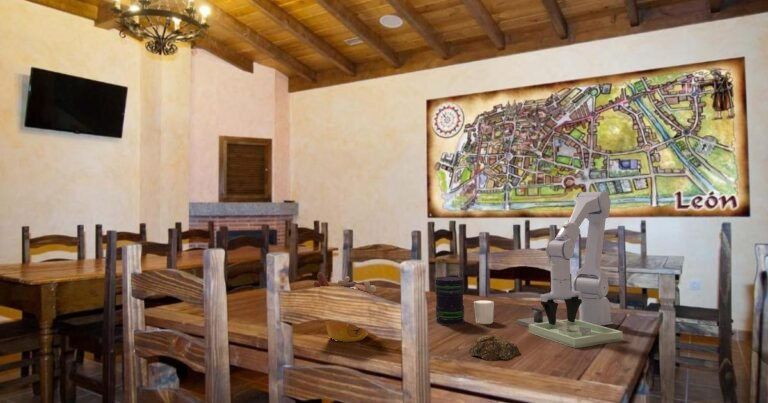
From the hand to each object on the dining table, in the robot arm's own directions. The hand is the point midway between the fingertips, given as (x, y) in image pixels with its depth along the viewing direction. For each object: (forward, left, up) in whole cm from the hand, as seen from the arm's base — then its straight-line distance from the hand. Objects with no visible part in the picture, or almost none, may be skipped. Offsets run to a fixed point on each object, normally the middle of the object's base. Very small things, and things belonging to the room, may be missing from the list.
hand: (561, 322), depth 147 cm
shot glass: (+13, -23, -3) cm, 26 cm away
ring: (0, +3, -2) cm, 4 cm away
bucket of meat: (+62, -25, -3) cm, 67 cm away
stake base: (-2, -11, -3) cm, 11 cm away
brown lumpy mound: (+32, +8, -4) cm, 33 cm away
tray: (0, +5, -3) cm, 6 cm away
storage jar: (+23, -29, -3) cm, 37 cm away
